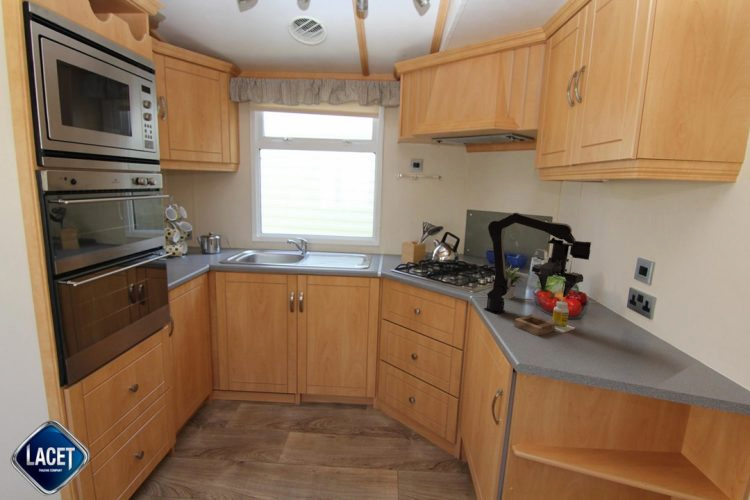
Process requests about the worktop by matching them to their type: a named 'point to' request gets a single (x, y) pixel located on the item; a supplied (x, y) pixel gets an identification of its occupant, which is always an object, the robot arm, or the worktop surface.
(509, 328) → the worktop surface
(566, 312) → the supplement bottle
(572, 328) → the mat
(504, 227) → the robot arm
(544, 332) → the socket block
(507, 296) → the house plant
